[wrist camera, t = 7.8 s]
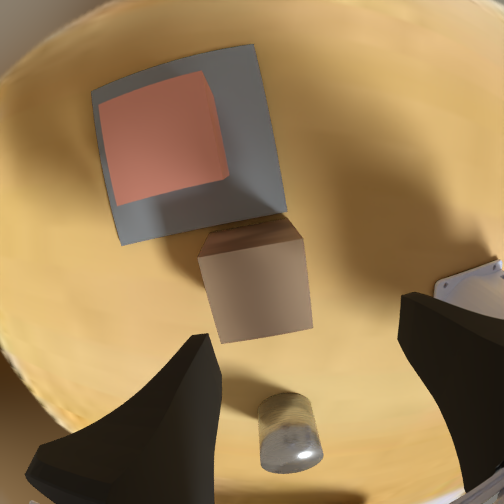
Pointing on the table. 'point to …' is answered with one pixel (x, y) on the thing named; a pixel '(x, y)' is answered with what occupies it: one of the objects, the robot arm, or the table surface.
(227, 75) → the slate mat
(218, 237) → the walnut block
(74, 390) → the table surface
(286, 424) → the grey metal cylinder
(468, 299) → the robot arm
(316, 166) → the table surface
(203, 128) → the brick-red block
